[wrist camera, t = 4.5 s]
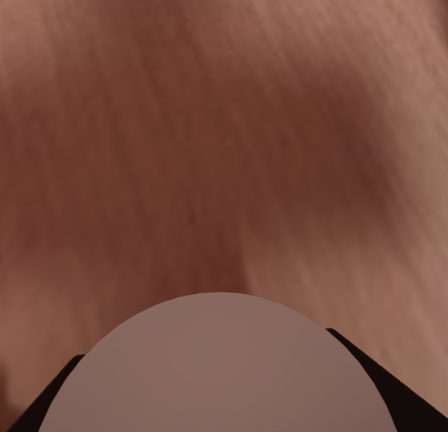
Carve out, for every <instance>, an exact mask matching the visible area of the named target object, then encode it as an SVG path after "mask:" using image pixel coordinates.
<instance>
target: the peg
mask: <svg viewBox="0 0 448 432" xmlns="http://www.w3.org/2000/svg"><path fill="white" fill-rule="evenodd" d="M39 432H397V430H396V428H395V425H394V423H393V420H392V418H391V416H390V413H389V411H388V408H387V406H386V404H385V402H384V401H383V399H382V397H381V395H380V393H379V392H378V390H377V388H376V386H375V384H374V383H373V381H372V380H371V379H370V377H369V376H368V374H367V373H366V371H365V370H364V369H363V367H362V366H361V364H360V363H359V362H358V361H357V360H356V358H355V357H354V356H353V355H352V354H351V353H350V352H349V351H348V350H347V348H346V347H345V346H344V345H343V344H342V343H341V342H339V341H338V340H337V339H336V338H335V337H334V336H333V335H331V334H330V333H329V332H328V331H327V330H326V329H324V328H323V327H322V326H320V325H319V324H317V323H316V322H314V321H313V320H311V319H310V318H308V317H307V316H305V315H303V314H301V313H299V312H297V311H295V310H293V309H291V308H289V307H288V306H285V305H282V304H280V303H277V302H274V301H271V300H269V299H266V298H261V297H257V296H252V295H247V294H241V293H229V292H213V293H199V294H193V295H188V296H182V297H178V298H175V299H172V300H169V301H166V302H162V303H159V304H157V305H155V306H153V307H150V308H148V309H146V310H144V311H142V312H140V313H138V314H136V315H134V316H133V317H131V318H130V319H128V320H126V321H125V322H123V323H122V324H120V325H118V326H117V327H116V328H115V329H113V330H112V331H111V332H110V333H108V334H107V335H106V336H105V337H104V338H102V339H101V340H100V341H99V342H98V343H97V344H96V345H95V346H94V347H93V348H92V349H91V350H90V351H89V352H88V353H87V354H86V355H85V356H84V357H83V358H82V359H81V360H80V362H79V363H78V364H77V366H76V367H75V368H74V370H73V371H72V372H71V373H70V375H69V376H68V377H67V379H66V380H65V381H64V383H63V385H62V386H61V388H60V390H59V391H58V393H57V395H56V396H55V398H54V400H53V402H52V403H51V405H50V407H49V409H48V412H47V414H46V416H45V418H44V420H43V423H42V425H41V427H40V429H39Z"/></svg>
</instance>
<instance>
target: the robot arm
mask: <svg viewBox="0 0 448 432" xmlns="http://www.w3.org/2000/svg"><path fill="white" fill-rule="evenodd" d="M326 330H327V331H328V332H329V333H330V334H331V335H333V336H334V337H335V338H336V339H337V340H338V341H339V342H341V343H342V344H343V345H344V346H345V347H346V348H347V350H348V351H349V352H350V353H351V354H352V355H353V356H354V357H355V358H356V360H357V361H358V362H359V363H360V364H361V366H362V367H363V369H364V370H365V371H366V373H367V374H368V376H369V377H370V379H371V380H372V381H373V383H374V384H375V386H376V388H377V390H378V392H379V393H380V395H381V397H382V399H383V401H384V402H385V404H386V406H387V408H388V411H389V413H390V416H391V418H392V420H393V423H394V425H395V428H396V430H397V432H448V418H447V417H446V416H444V415H443V414H442V413H440V412H439V411H438V410H437V409H435V408H434V407H433V406H431V405H430V404H429V403H428V402H426V401H425V400H424V399H423V398H421V397H420V396H419V395H417V394H416V393H415V392H414V391H412V390H411V389H410V388H409V387H407V386H406V385H405V384H403V383H402V382H401V381H400V380H398V379H397V378H396V377H394V376H393V375H392V374H391V373H389V372H388V371H387V370H386V369H384V368H383V367H382V366H380V365H379V364H378V363H377V362H375V361H374V360H373V359H372V358H370V357H369V356H368V355H366V354H365V353H364V352H363V351H361V350H360V349H359V348H358V347H356V346H355V345H354V344H352V343H351V342H350V341H349V340H347V339H346V338H345V337H343V336H342V335H341V334H340V333H338V332H337V331H336V330H334V329H332V328H326ZM85 355H86V354H81V355H76V356H75V357H73V358H72V359H71V360H70V361H69V362H68V364H67V365H66V366H65V367H64V368H63V369H62V370H61V371H60V373H59V374H58V375H57V376H56V377H55V378H54V379H53V380H52V381H51V383H50V384H49V385H48V386H47V387H46V388H45V389H44V390H43V391H42V393H41V394H40V395H39V396H38V397H37V398H36V399H35V400H34V402H33V403H32V404H31V405H30V406H29V407H28V408H27V409H26V410H25V412H24V413H23V414H22V415H21V416H20V417H19V418H18V419H17V420H16V422H15V423H14V424H13V425H12V426H11V427H10V428H9V429H8V431H7V432H39V429H40V427H41V425H42V423H43V420H44V418H45V416H46V414H47V412H48V409H49V407H50V405H51V403H52V402H53V400H54V398H55V396H56V395H57V393H58V391H59V390H60V388H61V386H62V385H63V383H64V381H65V380H66V379H67V377H68V376H69V375H70V373H71V372H72V371H73V370H74V368H75V367H76V366H77V364H78V363H79V362H80V360H81V359H82V358H83V357H84V356H85Z"/></svg>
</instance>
